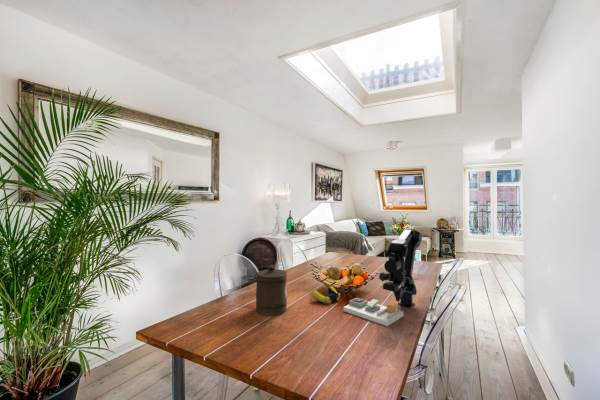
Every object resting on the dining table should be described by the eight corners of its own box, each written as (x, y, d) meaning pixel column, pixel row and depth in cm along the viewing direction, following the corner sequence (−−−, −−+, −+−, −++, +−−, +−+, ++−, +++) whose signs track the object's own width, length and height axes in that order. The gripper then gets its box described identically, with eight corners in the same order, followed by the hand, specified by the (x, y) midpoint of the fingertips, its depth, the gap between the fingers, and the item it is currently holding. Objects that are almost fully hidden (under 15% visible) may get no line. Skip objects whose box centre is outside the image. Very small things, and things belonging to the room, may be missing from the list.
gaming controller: (311, 301, 151) (324, 306, 144) (311, 290, 151) (324, 295, 144) (330, 295, 161) (344, 299, 153) (330, 285, 161) (344, 289, 153)
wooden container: (292, 309, 139) (293, 264, 139) (269, 318, 129) (269, 270, 129) (272, 302, 150) (272, 260, 150) (249, 310, 139) (249, 264, 139)
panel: (360, 303, 148) (360, 295, 148) (403, 316, 132) (403, 307, 132) (343, 311, 138) (343, 302, 138) (387, 326, 121) (387, 316, 121)
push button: (357, 302, 143) (357, 298, 143) (364, 304, 141) (364, 300, 141) (352, 304, 141) (352, 300, 141) (359, 306, 138) (359, 302, 138)
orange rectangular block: (389, 310, 133) (389, 303, 133) (396, 312, 131) (396, 305, 131) (386, 311, 132) (386, 304, 132) (394, 313, 129) (394, 306, 129)
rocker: (373, 300, 138) (373, 298, 138) (379, 302, 136) (378, 300, 136) (366, 306, 134) (366, 304, 134) (372, 308, 132) (372, 306, 132)
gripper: (391, 262, 148) (391, 292, 148) (372, 268, 135) (372, 301, 135) (412, 266, 140) (412, 298, 140) (394, 273, 127) (394, 308, 127)
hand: (397, 301), depth 136 cm, fingers closed
